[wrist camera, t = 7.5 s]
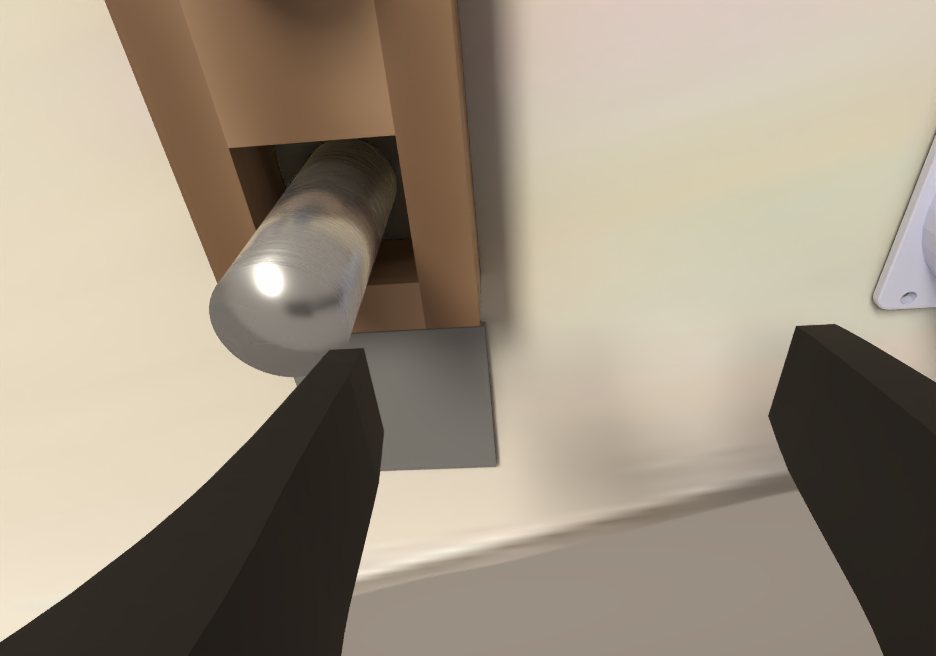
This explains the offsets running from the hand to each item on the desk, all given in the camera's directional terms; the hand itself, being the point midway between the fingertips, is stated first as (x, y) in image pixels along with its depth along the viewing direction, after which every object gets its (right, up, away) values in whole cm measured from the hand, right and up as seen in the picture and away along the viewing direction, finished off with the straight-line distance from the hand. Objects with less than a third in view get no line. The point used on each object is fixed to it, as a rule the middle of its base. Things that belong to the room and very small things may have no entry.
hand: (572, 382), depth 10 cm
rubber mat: (-5, -2, +15) cm, 16 cm away
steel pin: (-6, +6, +9) cm, 12 cm away
